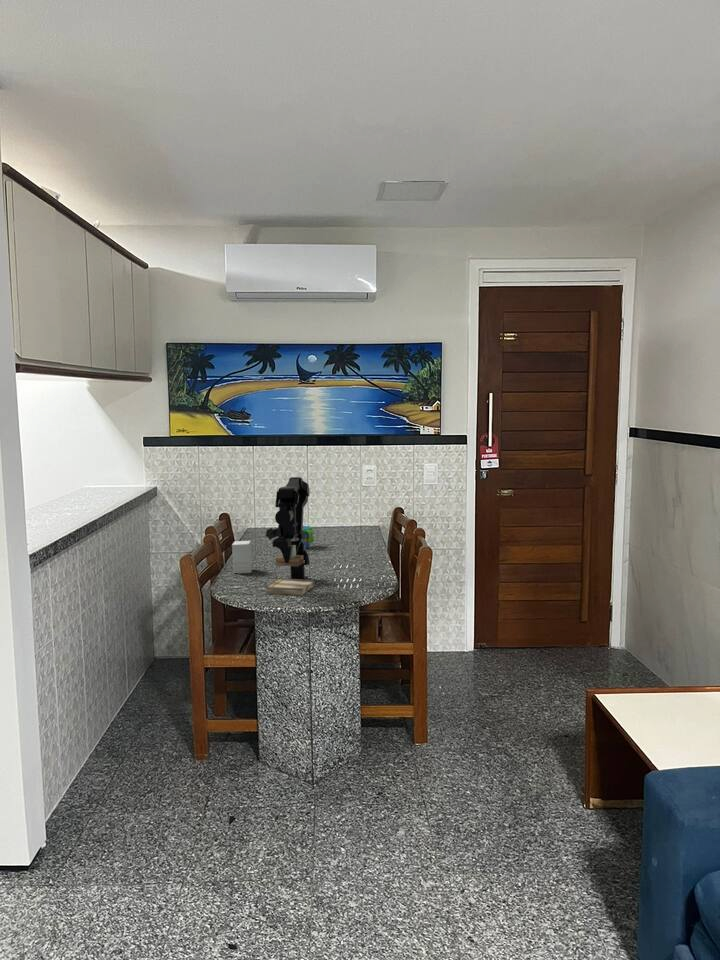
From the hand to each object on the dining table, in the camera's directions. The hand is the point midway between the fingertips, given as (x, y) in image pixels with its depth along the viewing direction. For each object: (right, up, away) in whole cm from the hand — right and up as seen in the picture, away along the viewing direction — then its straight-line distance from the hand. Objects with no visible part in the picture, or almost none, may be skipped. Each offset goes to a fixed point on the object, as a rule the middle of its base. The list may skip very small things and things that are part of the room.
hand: (289, 561), depth 272 cm
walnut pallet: (0, -1, 0) cm, 1 cm away
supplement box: (-23, -8, +32) cm, 40 cm away
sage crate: (0, +2, 0) cm, 2 cm away
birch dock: (0, -11, +1) cm, 11 cm away
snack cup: (-2, -3, +76) cm, 76 cm away
